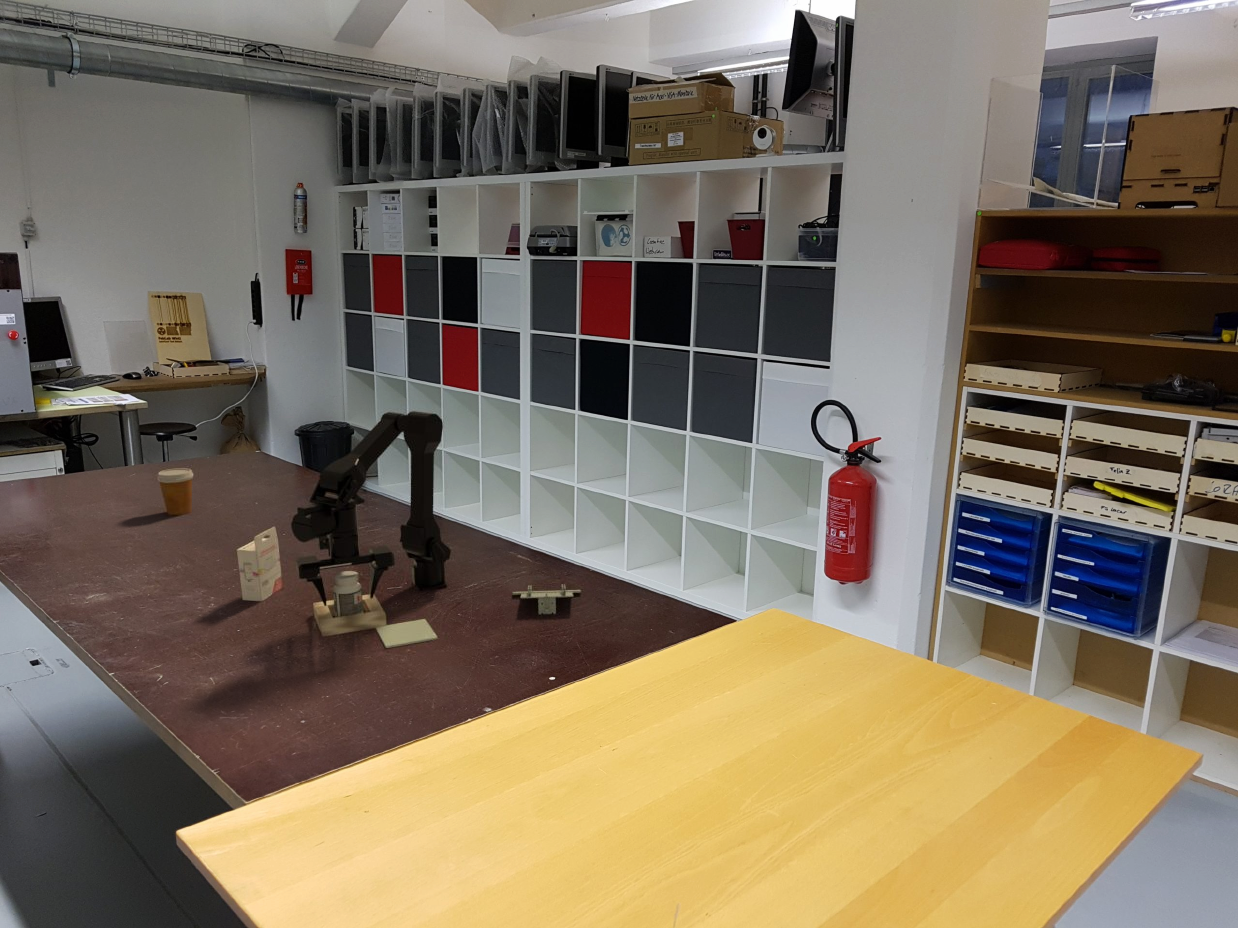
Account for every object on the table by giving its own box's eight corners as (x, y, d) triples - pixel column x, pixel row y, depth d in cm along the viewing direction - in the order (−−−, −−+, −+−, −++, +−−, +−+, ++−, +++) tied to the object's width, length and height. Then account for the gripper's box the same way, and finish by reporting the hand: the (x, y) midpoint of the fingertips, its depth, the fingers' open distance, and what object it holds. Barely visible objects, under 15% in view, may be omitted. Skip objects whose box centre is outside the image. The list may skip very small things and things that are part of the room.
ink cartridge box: (263, 586, 210) (257, 524, 207) (283, 588, 209) (277, 525, 206) (240, 600, 202) (234, 535, 199) (261, 602, 201) (255, 537, 198)
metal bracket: (582, 587, 195) (510, 589, 193) (583, 615, 194) (511, 617, 193) (580, 582, 209) (512, 584, 208) (580, 608, 209) (513, 610, 207)
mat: (425, 620, 191) (425, 618, 191) (437, 638, 182) (437, 637, 182) (375, 628, 187) (375, 627, 187) (386, 648, 178) (386, 646, 178)
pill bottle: (369, 616, 193) (366, 571, 191) (353, 627, 188) (349, 580, 186) (346, 613, 195) (342, 568, 193) (329, 623, 190) (325, 577, 188)
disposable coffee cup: (204, 510, 269) (200, 470, 266) (173, 518, 261) (169, 477, 258) (184, 505, 274) (180, 466, 271) (154, 513, 266) (149, 472, 263)
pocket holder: (374, 604, 200) (373, 593, 199) (386, 625, 189) (385, 614, 188) (313, 614, 195) (313, 602, 194) (322, 636, 184) (321, 624, 183)
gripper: (381, 512, 198) (386, 581, 202) (289, 523, 190) (295, 595, 194) (392, 527, 188) (397, 599, 192) (296, 539, 180) (302, 614, 184)
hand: (348, 601), depth 191 cm, fingers open, 9 cm apart
